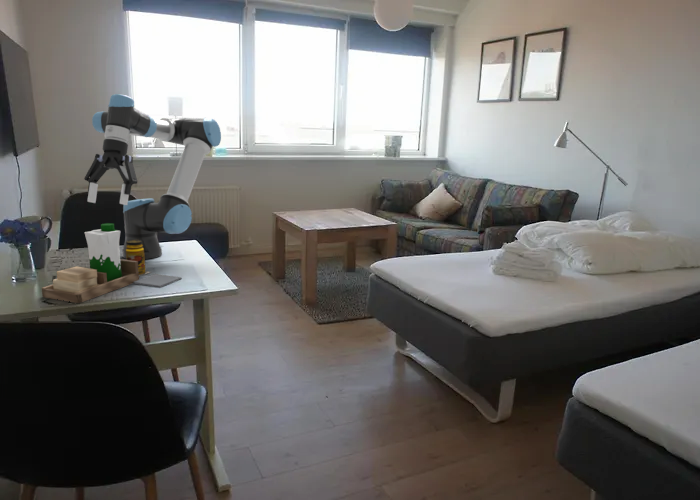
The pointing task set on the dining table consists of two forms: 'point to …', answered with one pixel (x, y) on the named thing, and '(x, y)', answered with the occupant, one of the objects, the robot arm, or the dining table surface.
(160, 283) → the mat
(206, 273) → the dining table surface
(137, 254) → the condiment
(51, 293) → the tray
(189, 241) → the dining table surface
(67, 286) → the offcut stack
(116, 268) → the soya milk
